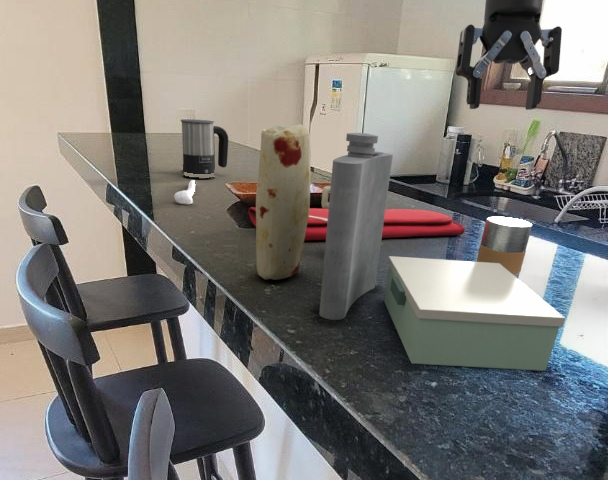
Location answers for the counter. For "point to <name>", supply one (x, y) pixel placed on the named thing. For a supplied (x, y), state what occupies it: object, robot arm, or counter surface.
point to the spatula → (186, 194)
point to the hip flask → (354, 224)
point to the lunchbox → (469, 315)
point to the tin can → (505, 243)
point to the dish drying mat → (387, 223)
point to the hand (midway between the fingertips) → (502, 108)
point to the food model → (282, 200)
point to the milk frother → (202, 146)
